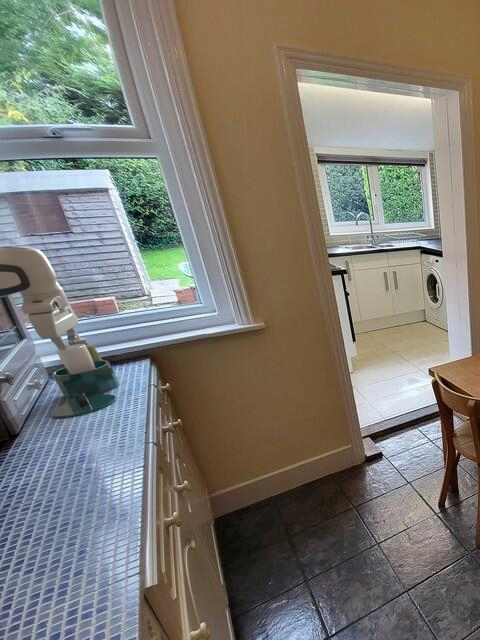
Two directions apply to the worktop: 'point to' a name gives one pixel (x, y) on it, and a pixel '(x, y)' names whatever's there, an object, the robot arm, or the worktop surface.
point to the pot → (86, 380)
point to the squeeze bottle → (90, 347)
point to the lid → (83, 405)
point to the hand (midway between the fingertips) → (69, 345)
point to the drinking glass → (76, 358)
